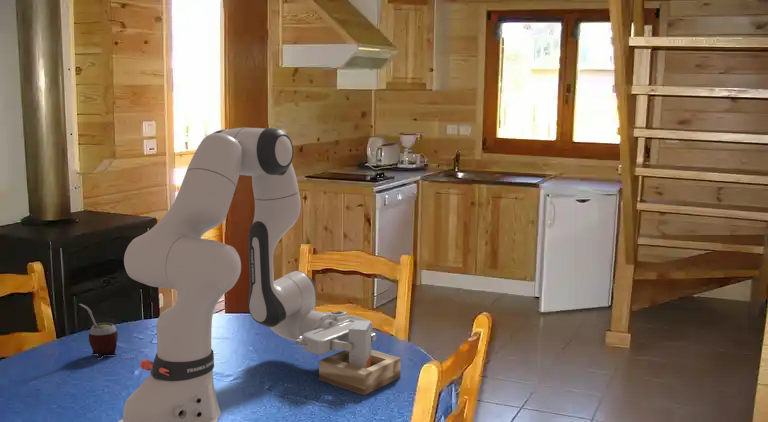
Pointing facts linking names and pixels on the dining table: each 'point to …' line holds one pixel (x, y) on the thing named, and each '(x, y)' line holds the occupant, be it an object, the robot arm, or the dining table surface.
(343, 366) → the socket block
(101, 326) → the mate gourd
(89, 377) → the dining table surface
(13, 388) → the dining table surface
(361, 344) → the skincare box
